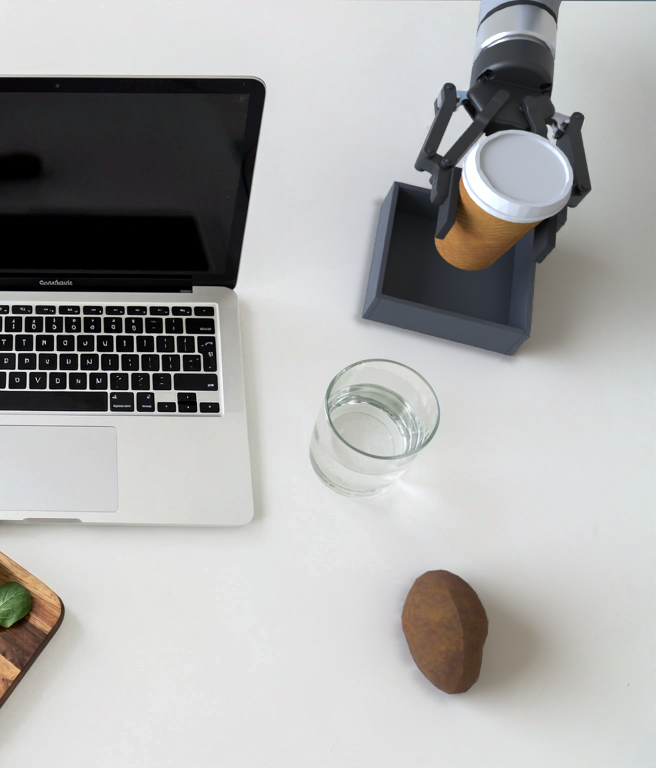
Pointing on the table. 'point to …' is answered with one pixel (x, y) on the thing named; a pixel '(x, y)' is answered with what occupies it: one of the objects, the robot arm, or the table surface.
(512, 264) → the bin
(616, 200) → the table surface
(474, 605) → the potato
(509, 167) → the disposable coffee cup
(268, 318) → the table surface
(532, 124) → the robot arm
